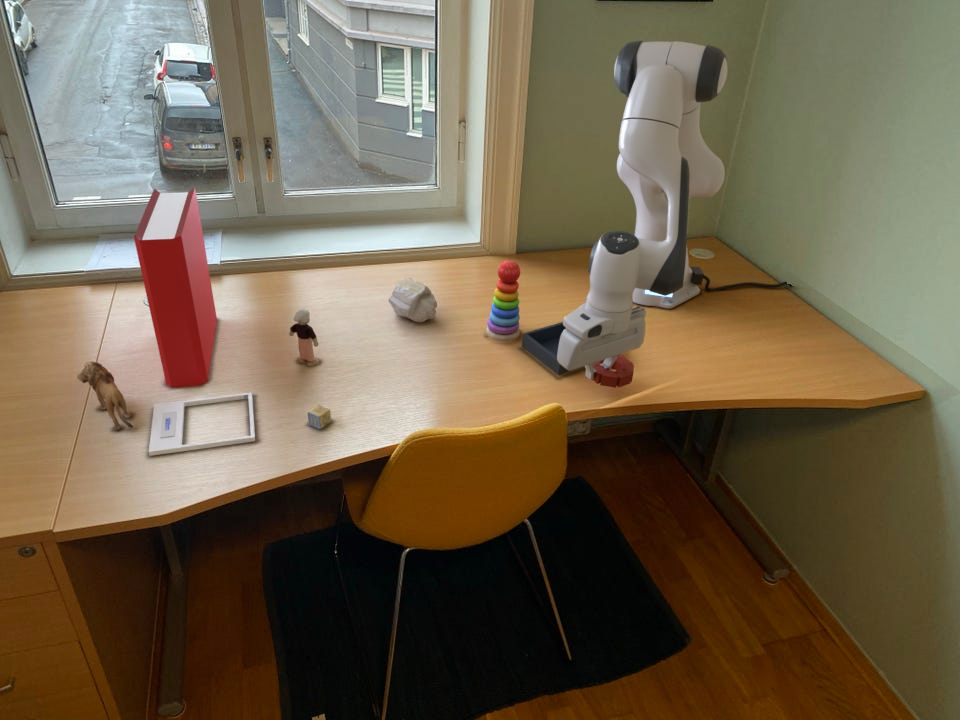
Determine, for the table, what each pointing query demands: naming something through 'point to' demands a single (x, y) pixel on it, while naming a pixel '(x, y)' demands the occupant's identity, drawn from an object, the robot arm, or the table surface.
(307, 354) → the grandmother figurine
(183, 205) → the book
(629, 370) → the ring
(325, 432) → the table surface
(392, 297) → the white rock
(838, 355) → the table surface
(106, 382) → the lion figurine
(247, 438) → the photo frame
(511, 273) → the stacking toy
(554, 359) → the tray
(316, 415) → the alphabet block
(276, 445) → the table surface
